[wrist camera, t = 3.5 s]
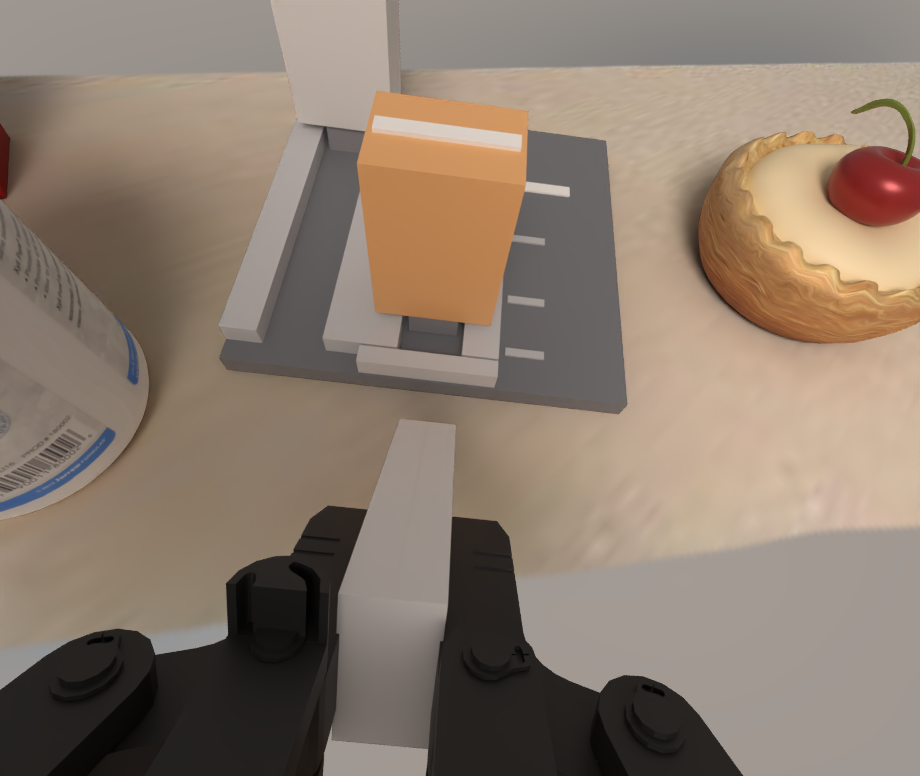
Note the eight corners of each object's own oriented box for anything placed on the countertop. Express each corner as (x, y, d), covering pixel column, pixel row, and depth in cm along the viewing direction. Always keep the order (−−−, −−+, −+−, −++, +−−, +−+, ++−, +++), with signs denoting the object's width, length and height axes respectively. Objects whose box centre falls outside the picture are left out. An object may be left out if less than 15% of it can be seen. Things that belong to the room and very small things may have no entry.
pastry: (760, 393, 24) (935, 275, 16) (638, 222, 28) (726, 63, 20) (931, 330, 26) (1154, 202, 18) (795, 183, 31) (926, 30, 23)
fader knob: (377, 331, 22) (356, 158, 14) (389, 271, 24) (375, 86, 16) (486, 344, 22) (526, 181, 14) (490, 284, 24) (529, 107, 16)
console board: (227, 369, 22) (93, 184, 13) (315, 117, 30) (272, -106, 21) (618, 414, 22) (756, 268, 13) (600, 154, 31) (678, -45, 21)
